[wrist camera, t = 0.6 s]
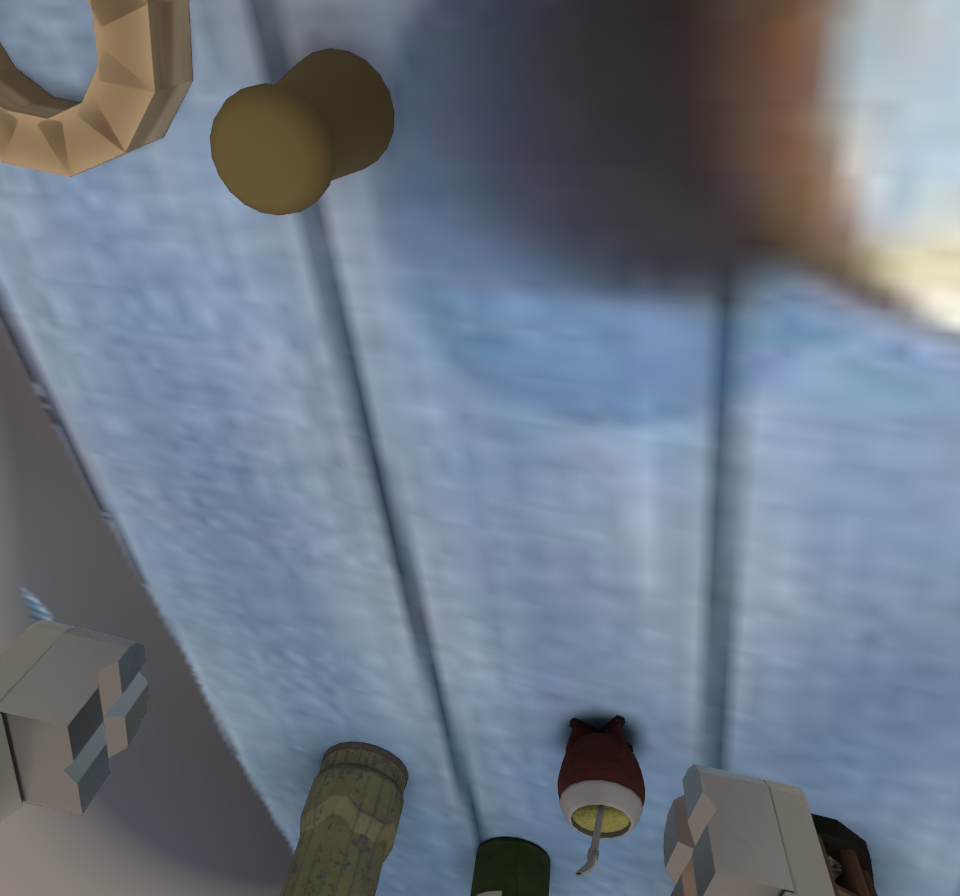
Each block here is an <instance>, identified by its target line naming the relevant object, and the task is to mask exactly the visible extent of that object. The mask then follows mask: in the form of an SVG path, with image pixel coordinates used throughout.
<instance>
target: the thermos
mask: <svg viewBox="0 0 960 896" xmlns="http://www.w3.org/2000/svg"><path fill="white" fill-rule="evenodd" d="M407 779H408V773H407V769H406V767H405V766H404V764H403V763H402V762H401V760H400V759H398V758H397V757H396V756H394V755H393V754H392V753H390V752H389V751H386V750H384V749H382V748H380V747H378V746H374V745H370V744H366V743H358V742H348V743H341V744H338V745H335V746H333V747H331V748H330V749H329V750H328V751H327V752H326V753H325V755H324V758H323V761H322V766H321V769H320V771H319V774H318V775H317V776H316V777H315V778H314V781H313V784H312V787H311V790H310V792H309V795H308V798H307V801H306V804H305V806H304V809H303V812H302V815H301V820H300V839H299V842H298V845H297V847H296V850H295V853H294V856H293V859H292V862H291V865H290V868H289V870H288V874H287V876H286V879H285V882H284V885H283V888H282V891H281V893H280V896H375V893H376V889H377V885H378V880H379V876H380V872H381V868H382V864H383V862H384V861H385V859H386V858H387V856H388V855H389V853H390V852H391V850H392V847H393V843H394V840H395V836H396V832H397V828H398V824H399V819H400V815H401V811H402V807H403V803H404V800H403V792H404V789H405V787H406V783H407Z"/></svg>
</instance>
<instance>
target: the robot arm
mask: <svg viewBox="0 0 960 896" xmlns="http://www.w3.org/2000/svg"><path fill="white" fill-rule="evenodd" d="M145 663H146V655H145V648H144V645H143V644H140V643H137V642H133V641H129V640H125V639H121V638H117V637H113V636H109V635H105V634H101V633H97V632H93V631H89V630H85V629H81V628H77V627H72V626H68V625H64V624H59V623H55V622H51V621H47V620H43V619H42V620H40V621H38V622H36V623H34V624H32V625H30V626H29V627H28V628H27V629H26V630H25V631H24V632H23V633H22V634H21V635H20V636H19V637H18V638H17V639H16V640H15V641H14V642H13V643H12V644H11V646H9V647H8V648H7V649H6V650H5V651H4V652H3V653H2V655H1V656H0V822H1V821H2V820H3V819H5V818H7V817H8V816H9V815H11V814H12V813H14V812H15V811H17V810H18V809H20V808H21V807H22V805H23V804H22V803H26V804H31V805H36V806H41V807H46V808H52V809H57V810H61V811H66V812H71V813H77V814H83V813H84V812H85V810H86V809H87V807H88V806H89V804H90V803H91V801H92V800H93V798H94V797H95V795H96V793H97V792H98V791H99V789H100V788H101V786H102V785H103V783H104V782H105V780H106V779H107V777H108V776H109V774H110V767H109V757H111V756H112V755H114V754H116V753H118V752H120V751H121V750H123V749H125V748H127V747H128V746H129V744H130V743H131V741H132V740H133V738H134V736H135V735H136V733H137V732H138V730H139V728H140V725H141V723H142V720H143V718H144V715H145V713H146V710H147V705H148V699H149V686H148V682H147V681H146V680H145V678H144V677H143V676H142V675H141V673H140V672H139V671H140V669H141V668H142V667H143V665H144V664H145ZM683 787H684V795H683V796H681V797H679V798H677V799H675V800H673V803H672V805H671V808H670V810H669V813H668V815H667V821H666V826H665V832H664V861H665V869H666V871H667V872H668V874H669V875H670V877H671V878H672V880H673V881H674V883H675V884H676V886H675V888H674V890H673V892H672V894H671V896H835V893H834V890H833V886H832V883H831V879H830V876H829V873H828V869H827V866H826V863H825V859H824V856H823V853H822V849H821V846H820V843H819V839H818V836H817V833H816V829H815V826H814V822H813V819H812V816H811V812H810V809H809V806H808V802H807V799H806V796H805V794H804V792H803V791H802V790H801V788H800V787H796V786H791V785H787V784H782V783H778V782H773V781H769V780H762V779H760V778H757V777H753V776H748V775H743V774H738V773H733V772H728V771H724V770H719V769H714V768H709V767H704V766H700V765H695V764H694V765H692V766H691V767H690V768H689V769H688V770H687V772H686V775H685V777H684V779H683Z"/></svg>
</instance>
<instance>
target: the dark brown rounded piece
mask: <svg viewBox="0 0 960 896" xmlns="http://www.w3.org/2000/svg"><path fill="white" fill-rule="evenodd" d="M393 129H394V109H393V105H392V101H391V97H390V92H389V91H388V89H387V87H386V85H385V83H384V82H383V80H382V78H381V76H380V74H379V73H378V72H377V71H376V70H375V69H374V68H373V67H372V66H370V65H369V64H368V63H367V62H366V61H365V60H364V59H362V58H360V57H358V56H356V55H354V54H352V53H350V52H348V51H343V50H336V49H326V50H322V51H317V52H313V53H311V54H310V55H309V56H307V57H306V58H304V59H303V60H302V61H300V62H299V63H298V64H297V65H295V66H294V67H293V68H292V69H291V70H290V71H289V72H288V73H287V74H286V75H285V76H284V77H283V78H282V79H280V80H279V81H278V82H277V83H276V84H275V85H272V84H266V83H264V84H260V85H255V86H251V87H246V88H243V89H241V90H239V91H238V92H236V93H235V94H234V95H232V96H231V97H229V98H228V99H227V100H226V101H225V103H224V104H223V106H222V107H221V109H220V110H219V112H218V114H217V115H216V117H215V118H214V121H213V126H212V130H211V135H210V143H211V154H212V159H213V161H214V164H215V167H216V169H217V172H218V175H219V176H220V178H221V179H222V181H223V182H224V184H225V185H226V187H227V188H228V189H229V191H230V192H231V193H232V194H233V195H234V196H236V197H237V198H238V199H239V200H240V201H241V202H243V203H244V204H245V205H247V206H249V207H251V208H253V209H255V210H257V211H259V212H261V213H267V214H273V215H285V214H291V213H296V212H301V211H303V210H304V209H306V208H308V207H309V206H311V205H313V204H314V203H315V202H317V201H318V200H319V199H320V197H321V196H322V195H323V193H324V192H325V191H326V190H327V188H328V187H329V185H330V182H331V180H334V179H337V178H339V177H342V176H345V175H348V174H351V173H354V172H357V171H360V170H362V169H364V168H366V167H368V166H369V165H371V164H373V163H374V162H376V161H377V160H378V159H379V158H380V156H381V155H382V154H383V153H384V151H385V150H386V149H387V147H388V145H389V142H390V139H391V136H392V133H393Z"/></svg>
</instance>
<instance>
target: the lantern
mask: <svg viewBox="0 0 960 896" xmlns="http://www.w3.org/2000/svg"><path fill="white" fill-rule="evenodd" d="M811 816H812V819H813V822H814V826H815V829H816V833H817V836H818V839H819V843H820V846H821V849H822V853H823V856H824V859H825V863H826V866H827V869H828V873H829V876H830V879H831V883H832V886H833V890H834V893H835V896H877V893H876V890H875V888H874V881H873V873H872V864H871V859H870V855H869V852H868V848H867V845H866V842H865V841H864V840H863V839H861V838H860V837H859V836H857V835H856V834H855V833H853V832H852V831H851V830H849V829H848V828H847V827H845V826H844V825H843V824H841V823H840V822H839V821H837V820H835V819H830V818H826V817H822V816H818V815H814V814H811Z"/></svg>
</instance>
